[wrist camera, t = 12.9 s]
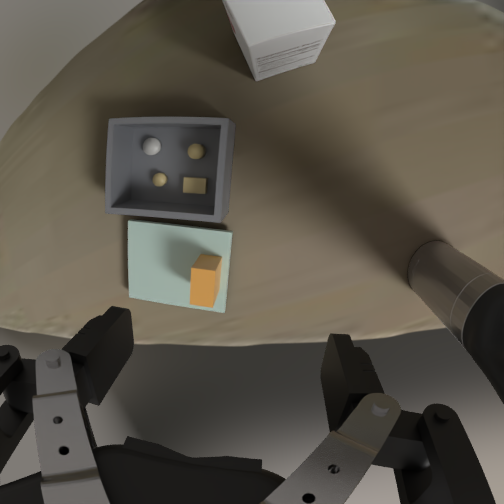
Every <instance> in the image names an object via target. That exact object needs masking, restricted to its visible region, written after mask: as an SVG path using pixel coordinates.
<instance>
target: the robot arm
mask: <svg viewBox="0 0 504 504" xmlns="http://www.w3.org/2000/svg"><path fill="white" fill-rule="evenodd" d="M408 280H409V284H410V286H411V288H412V289H413V290H414V291H415V292H416V294H417V295H418V296H419V297H420V298H421V299H422V300H423V301H424V302H425V304H426V305H427V306H428V307H429V308H430V309H431V310H432V311H433V312H434V314H435V315H436V316H437V317H438V318H439V319H440V320H441V321H442V323H443V324H444V325H445V326H446V327H447V328H448V329H449V331H450V332H451V333H452V334H453V335H454V336H455V337H456V339H457V340H458V341H459V342H460V343H461V345H462V346H463V347H464V348H465V349H466V350H467V352H468V353H469V354H470V355H471V356H472V358H473V360H474V361H475V362H476V363H477V365H478V366H479V367H480V369H481V370H482V371H483V373H484V374H485V375H486V377H487V379H488V380H489V381H490V383H491V385H492V386H493V387H494V389H495V391H496V392H497V394H498V396H499V397H500V399H501V401H502V402H503V404H504V280H503V279H502V278H500V277H499V276H497V275H496V274H494V273H493V272H491V271H490V270H488V269H487V268H485V267H483V266H482V265H480V264H479V263H477V262H476V261H474V260H473V259H471V258H469V257H468V256H466V255H465V254H463V253H461V252H460V251H458V250H457V249H455V248H453V247H452V246H450V245H448V244H447V243H444V242H442V241H431V242H428V243H426V244H424V245H423V246H421V247H420V248H419V249H418V250H417V251H416V253H415V254H414V255H413V257H412V259H411V261H410V264H409V268H408ZM133 347H134V338H133V329H132V319H131V312H130V310H129V309H126V308H120V307H115V306H111V307H110V308H109V309H108V310H107V311H106V312H105V313H104V314H103V315H102V316H101V315H99V316H97V317H95V318H93V319H91V320H89V321H88V322H87V324H86V325H85V326H84V327H83V328H82V329H81V330H80V331H79V332H78V334H76V335H75V336H74V337H73V338H72V339H71V340H70V341H69V342H68V343H67V344H66V345H65V346H64V347H63V348H62V350H60V349H51V350H48V351H45V352H43V353H41V354H40V355H39V356H38V357H37V359H36V360H32V359H22V358H21V356H20V353H19V351H18V349H17V348H16V347H14V346H11V345H3V346H0V395H1V394H2V392H3V394H4V397H5V399H6V401H5V402H4V403H3V404H2V405H1V407H0V473H1V471H2V470H3V468H4V466H5V464H6V463H7V461H8V460H9V458H10V456H11V455H12V453H13V452H14V450H15V448H16V447H17V445H18V444H19V442H20V440H21V439H22V437H23V436H24V434H25V433H26V431H27V429H28V428H29V426H30V425H31V423H32V422H33V420H34V425H35V434H36V442H37V448H38V456H39V461H40V467H41V471H40V472H37V473H35V474H32V475H29V476H27V477H24V478H21V479H19V480H16V481H13V482H10V483H8V484H5V485H2V486H0V504H344V503H345V502H346V500H347V499H348V498H349V496H350V495H351V494H352V492H353V491H354V489H355V488H356V486H357V485H358V484H359V482H360V481H361V479H362V477H363V476H364V475H365V473H366V472H367V470H368V469H369V467H370V466H371V464H373V465H378V466H383V467H390V468H393V469H394V474H395V479H396V483H397V488H398V493H399V498H400V503H401V504H496V503H495V500H494V497H493V495H492V492H491V489H490V487H489V484H488V482H487V479H486V477H485V474H484V472H483V470H482V467H481V465H480V463H479V460H478V458H477V456H476V454H475V451H474V449H473V447H472V444H471V442H470V440H469V438H468V436H467V434H466V432H465V429H464V427H463V425H462V423H461V421H460V419H459V417H458V415H457V414H456V412H455V411H454V410H453V409H451V408H450V407H448V406H446V405H443V404H431V405H429V406H427V407H426V408H425V410H424V411H423V413H422V414H419V413H414V412H408V411H403V410H401V407H400V405H399V403H398V402H397V401H396V400H395V399H394V398H392V397H391V396H389V395H386V394H384V391H383V388H382V386H381V383H380V381H379V379H378V376H377V374H376V372H375V369H374V367H373V365H372V362H371V360H370V357H369V355H368V354H367V353H366V352H365V351H364V350H363V349H362V348H361V347H354V345H353V343H352V340H351V337H350V335H348V334H330V335H329V338H328V342H327V346H326V350H325V354H324V358H323V362H322V367H321V384H322V390H323V395H324V400H325V406H326V412H327V418H328V424H329V430H330V433H329V435H328V436H327V437H326V438H325V439H324V440H323V441H322V443H321V444H320V445H319V446H318V447H317V448H316V449H315V450H314V451H313V452H312V454H311V455H309V457H308V458H307V459H306V460H305V461H304V462H303V463H302V464H301V465H300V466H299V467H298V468H297V469H296V470H295V471H294V472H293V473H292V474H291V475H290V476H289V477H288V478H287V479H285V478H283V477H281V476H279V475H277V474H275V473H273V472H270V471H268V470H264V469H262V460H261V459H249V458H238V457H229V456H222V457H200V458H192V457H187V456H185V455H182V454H180V453H178V452H175V451H173V450H171V449H168V448H166V447H164V446H162V445H159V444H156V443H152V442H148V441H144V440H140V439H136V438H132V437H129V436H127V438H126V440H125V443H124V445H121V444H120V445H106V446H101V447H97V444H96V441H95V438H94V434H93V431H92V428H91V425H90V421H89V417H88V414H87V410H86V408H85V407H86V405H87V404H88V402H89V403H92V404H95V405H98V406H99V405H100V403H101V402H102V400H103V398H104V397H105V395H106V394H107V392H108V390H109V389H110V387H111V386H112V384H113V383H114V381H115V379H116V378H117V376H118V375H119V373H120V371H121V370H122V368H123V367H124V365H125V364H126V362H127V361H128V359H129V358H130V356H131V354H132V351H133Z"/></svg>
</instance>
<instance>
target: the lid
mask: <svg viewBox="0 0 504 504" xmlns="http://www.w3.org/2000/svg"><path fill="white" fill-rule="evenodd" d="M232 235H233V231H229V230H221V229H212V228H204V227H195V226H187V225H178V224H169V223H161V222H152V221H143V220H133V219H130V220H128V279H129V297H131V298H137V299H142V300H148V301H153V302H159V303H165V304H171V305H177V306H183V307H189V308H196V309H202V310H209V311H216V312H223V313H225V309H226V298H227V287H228V276H229V266H230V255H231V245H232Z"/></svg>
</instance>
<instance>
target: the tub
mask: <svg viewBox="0 0 504 504" xmlns="http://www.w3.org/2000/svg"><path fill="white" fill-rule="evenodd" d="M235 128H236V124H235V123H234V122H232V121H231V120H230V119H229V118H210V117H131V118H111V119H109V124H108V137H107V154H106V182H105V213H108V214H121V215H135V216H148V217H160V218H172V219H184V220H195V221H206V222H217V223H221V221H222V220H223V219H224V217H225V216H226V215H227V213H228V212H229V199H230V186H231V174H232V162H233V150H234V139H235Z"/></svg>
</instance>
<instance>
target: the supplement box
mask: <svg viewBox="0 0 504 504" xmlns="http://www.w3.org/2000/svg"><path fill="white" fill-rule="evenodd" d="M222 1H223V4H224V7H225V9H226V12H227V15H228V18H229V21H230V24H231V26H232V29H233V32H234V35H235V37H236V39H237V41H238V44H239V46H240V48H241V50H242V52H243V55H244V57H245V59H246V61H247V64H248V66H249V68H250V70H251V72H252V75H253V77H254V79H255V81H259V80H262V79H265V78H268V77H271V76H274V75H277V74H280V73H283V72H286V71H289V70H292V69H295V68H298V67H302V66H305V65H308V64H312V63H315V61H316V59H317V57H318V55H319V53H320V51H321V49H322V47H323V45H324V43H325V41H326V40H327V38H328V36H329V34H330V32H331V30H332V28H333V26H334V24H335V23H336V22H335V19H334V18H333V16H332V14H331V12H330V10H329V8H328V7H327V5H326V3H325V1H324V0H222Z"/></svg>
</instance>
